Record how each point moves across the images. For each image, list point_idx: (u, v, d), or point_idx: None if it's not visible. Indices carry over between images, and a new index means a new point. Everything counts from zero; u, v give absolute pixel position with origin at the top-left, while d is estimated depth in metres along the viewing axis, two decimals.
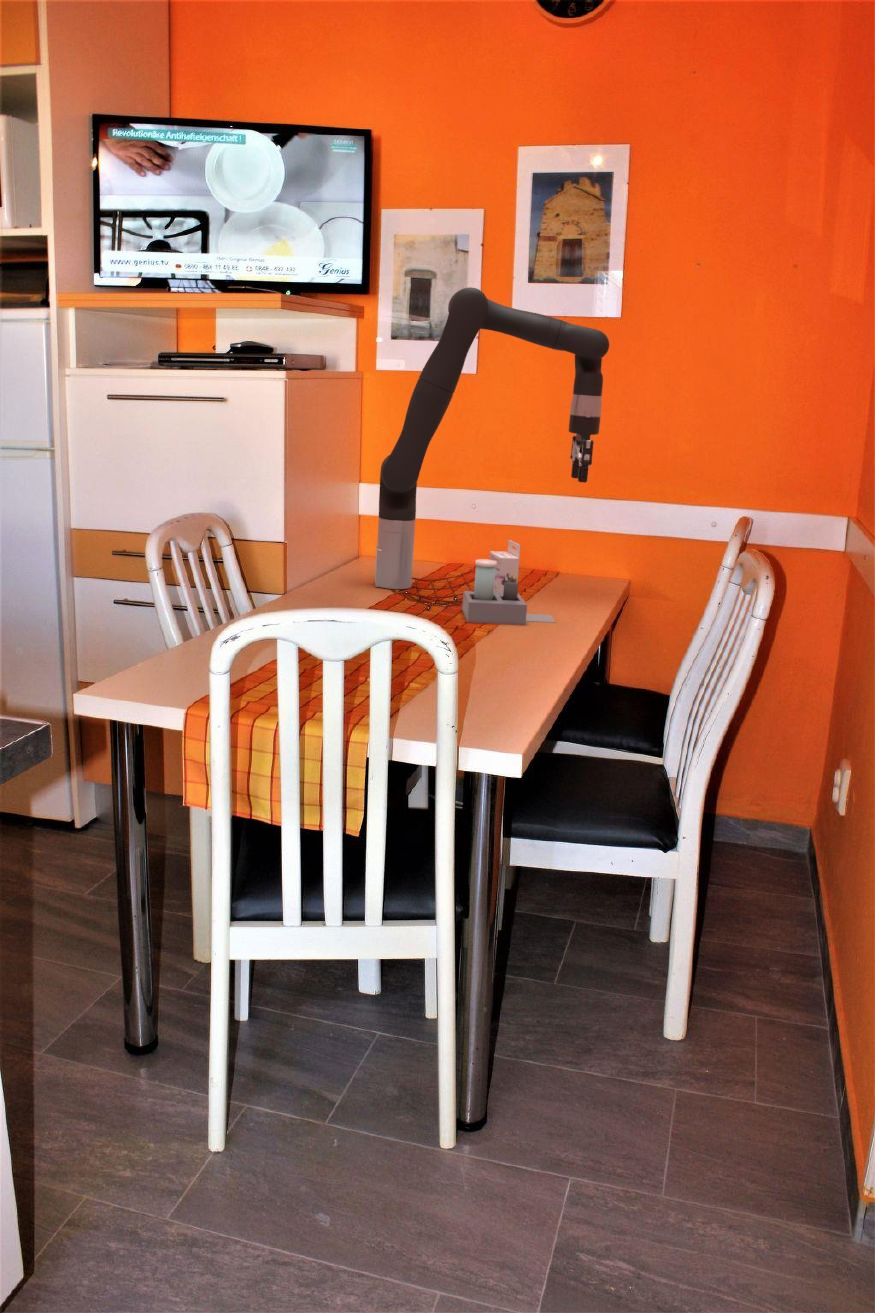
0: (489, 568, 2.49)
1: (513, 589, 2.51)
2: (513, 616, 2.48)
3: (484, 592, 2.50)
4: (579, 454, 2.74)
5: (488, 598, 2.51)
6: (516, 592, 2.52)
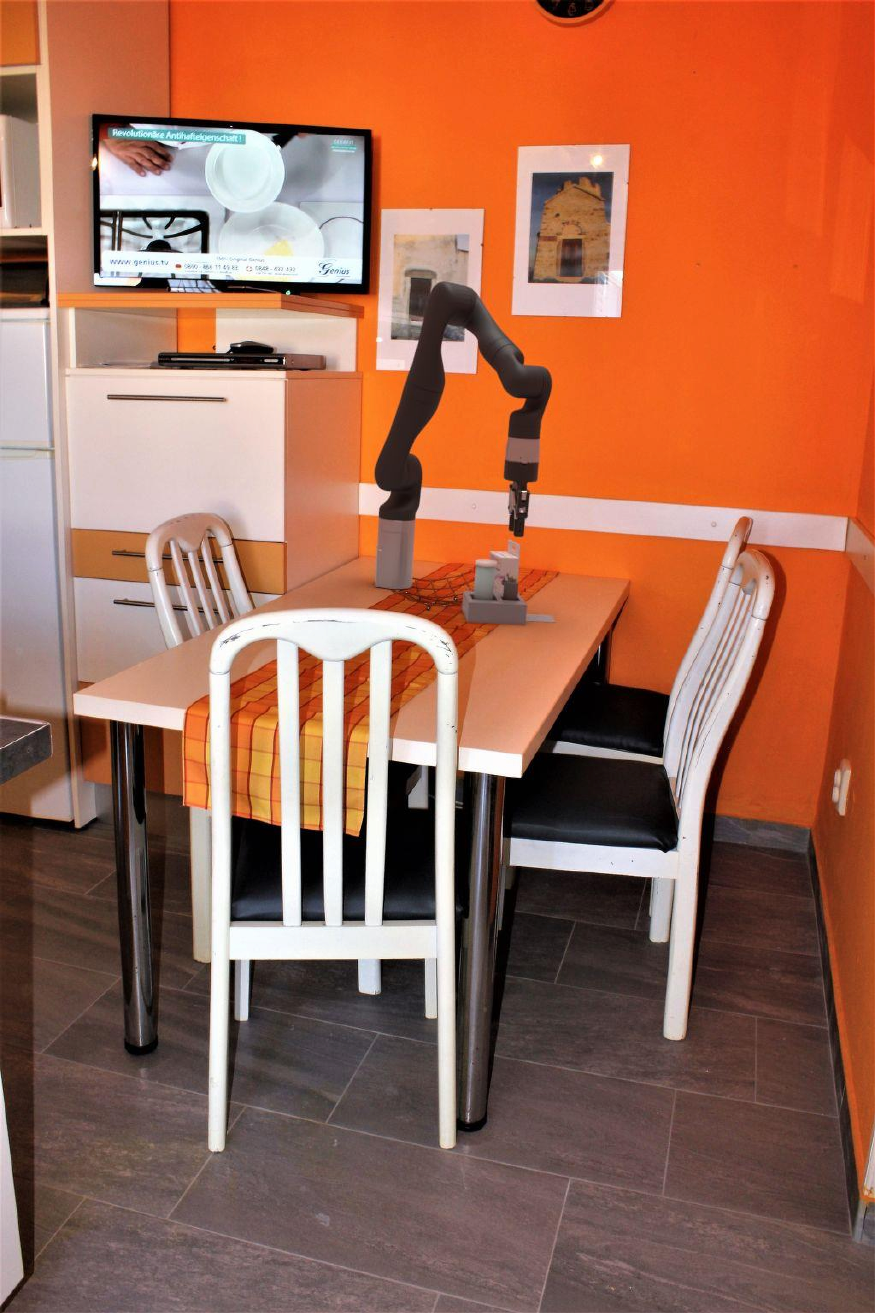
0: (489, 568, 2.49)
1: (513, 589, 2.51)
2: (513, 616, 2.48)
3: (484, 592, 2.50)
4: (514, 505, 2.44)
5: (488, 598, 2.51)
6: (516, 592, 2.52)
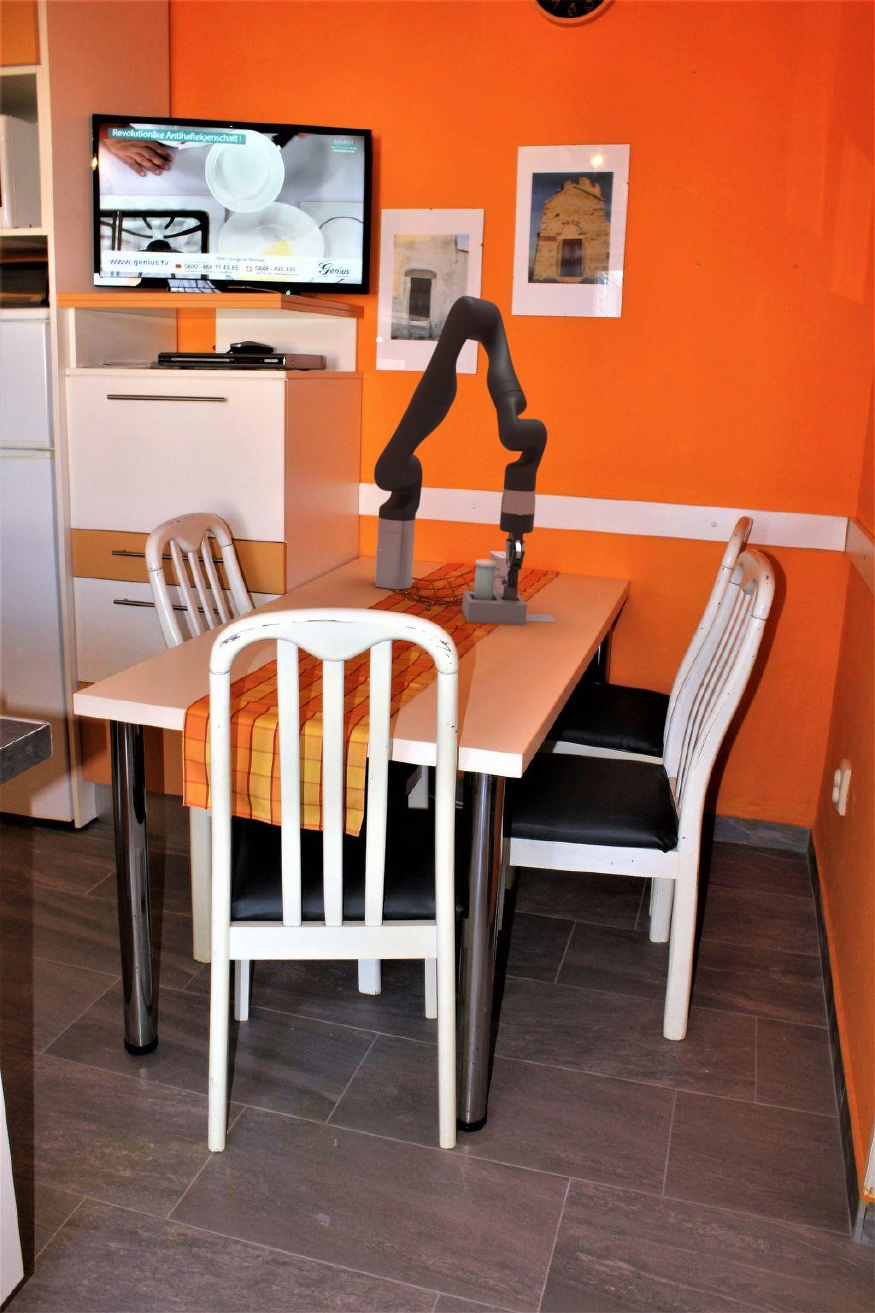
0: (489, 568, 2.49)
1: (513, 592, 2.51)
2: (513, 616, 2.48)
3: (484, 592, 2.50)
4: (509, 558, 2.49)
5: (488, 598, 2.51)
6: (516, 595, 2.52)
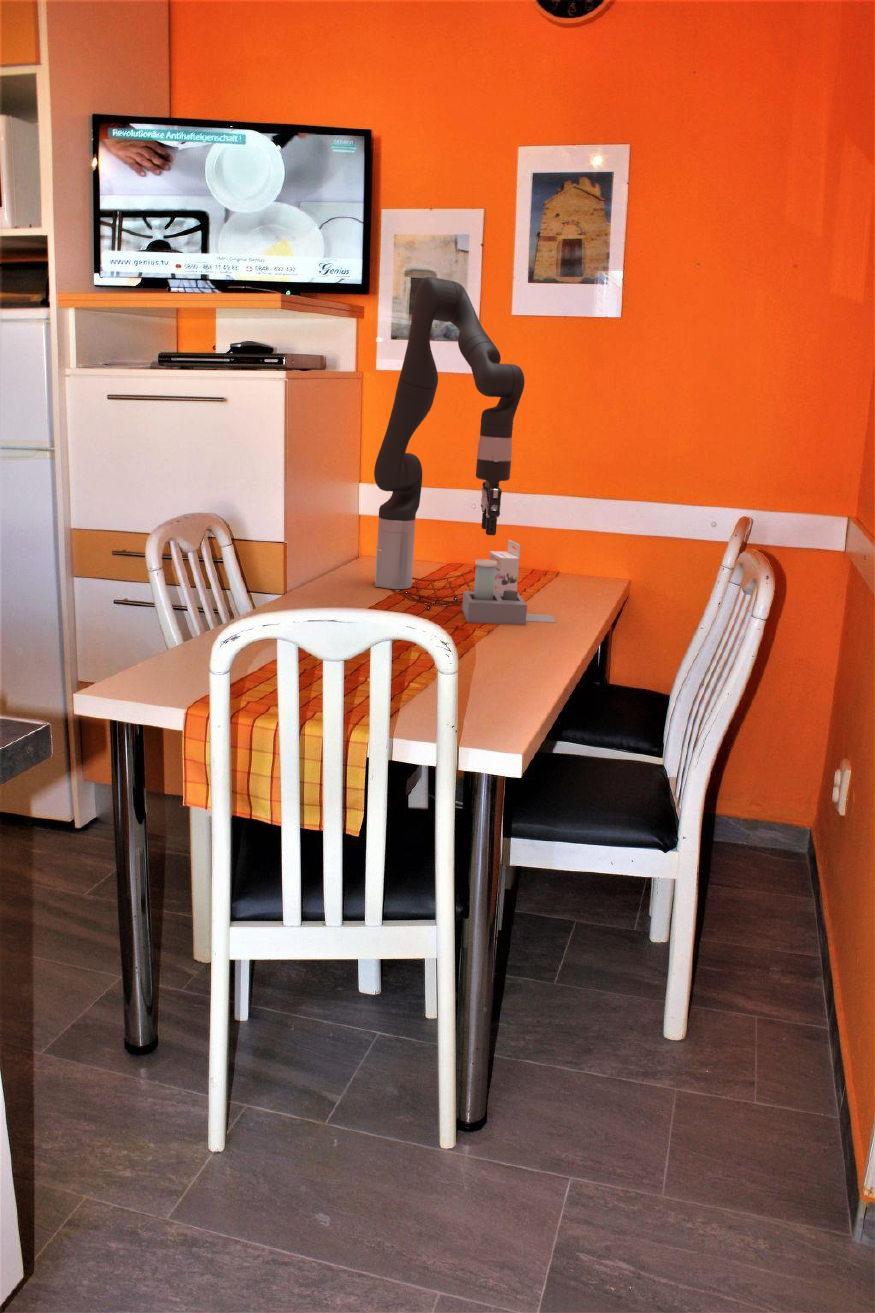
0: (489, 568, 2.49)
1: (512, 597, 2.52)
2: (513, 616, 2.48)
3: (484, 592, 2.50)
4: (486, 504, 2.43)
5: (488, 598, 2.51)
6: (515, 600, 2.52)
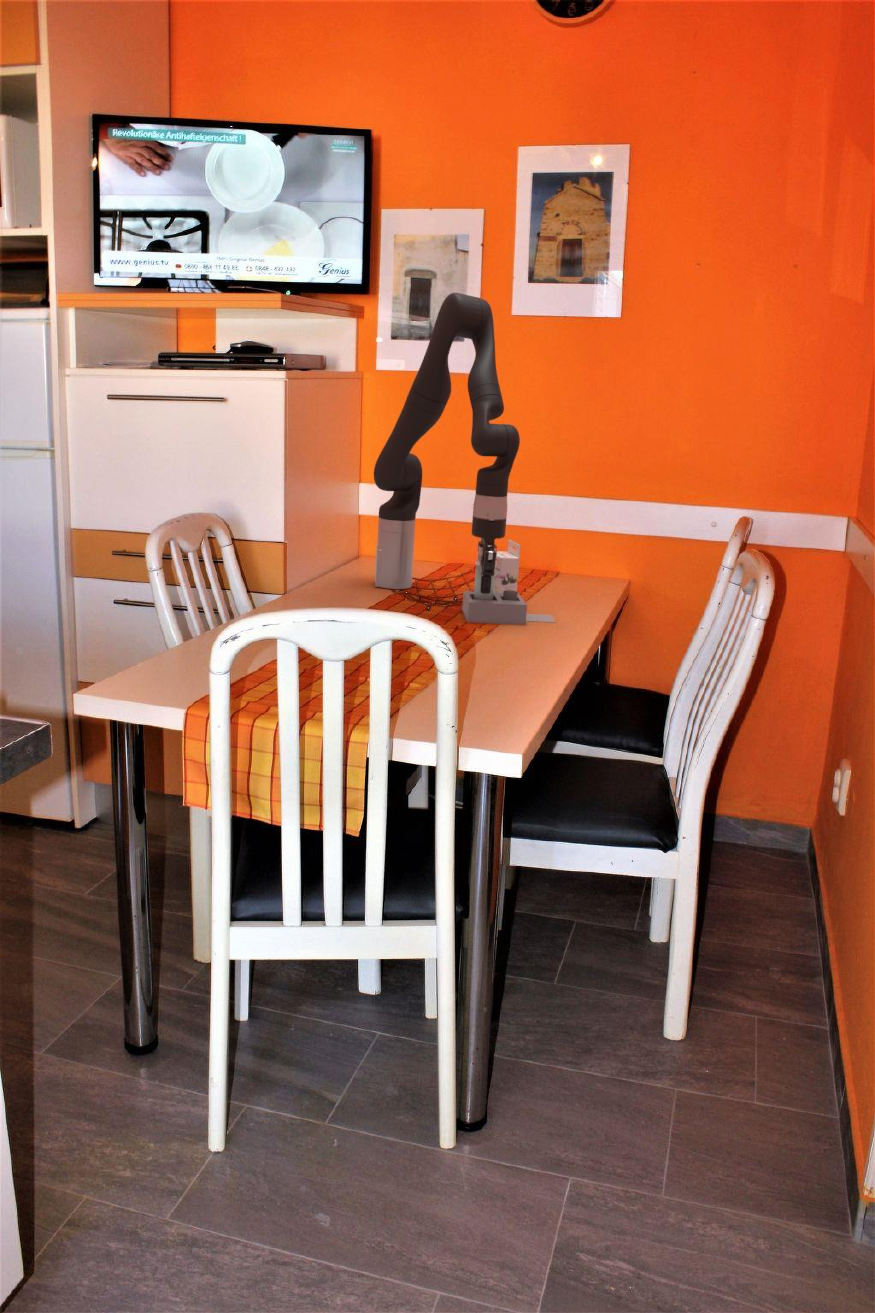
0: (489, 568, 2.49)
1: (512, 597, 2.52)
2: (513, 616, 2.48)
3: None
4: (482, 563, 2.48)
5: (488, 598, 2.51)
6: (515, 600, 2.52)
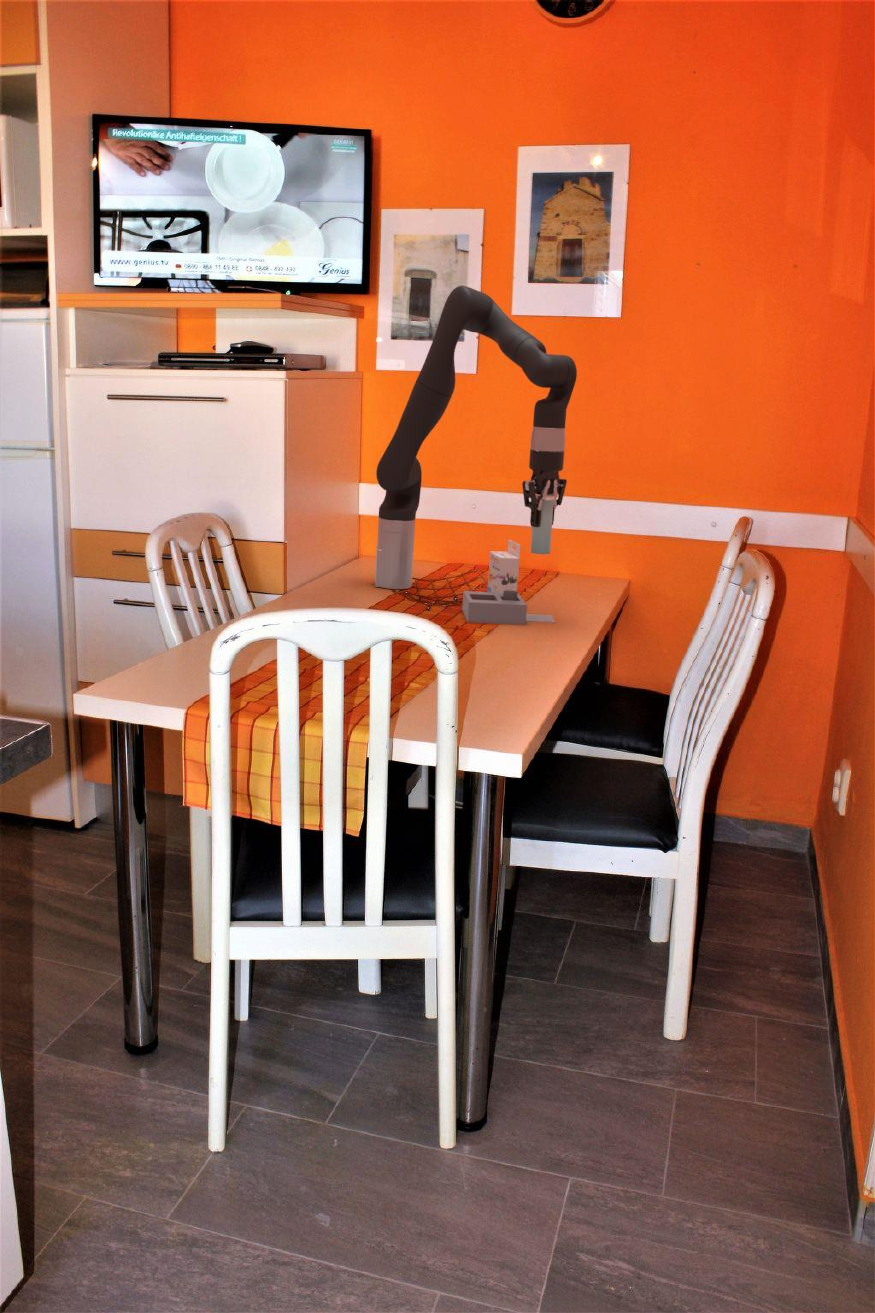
0: None
1: (512, 597, 2.52)
2: (513, 616, 2.48)
3: None
4: None
5: (539, 533, 2.48)
6: (515, 600, 2.52)
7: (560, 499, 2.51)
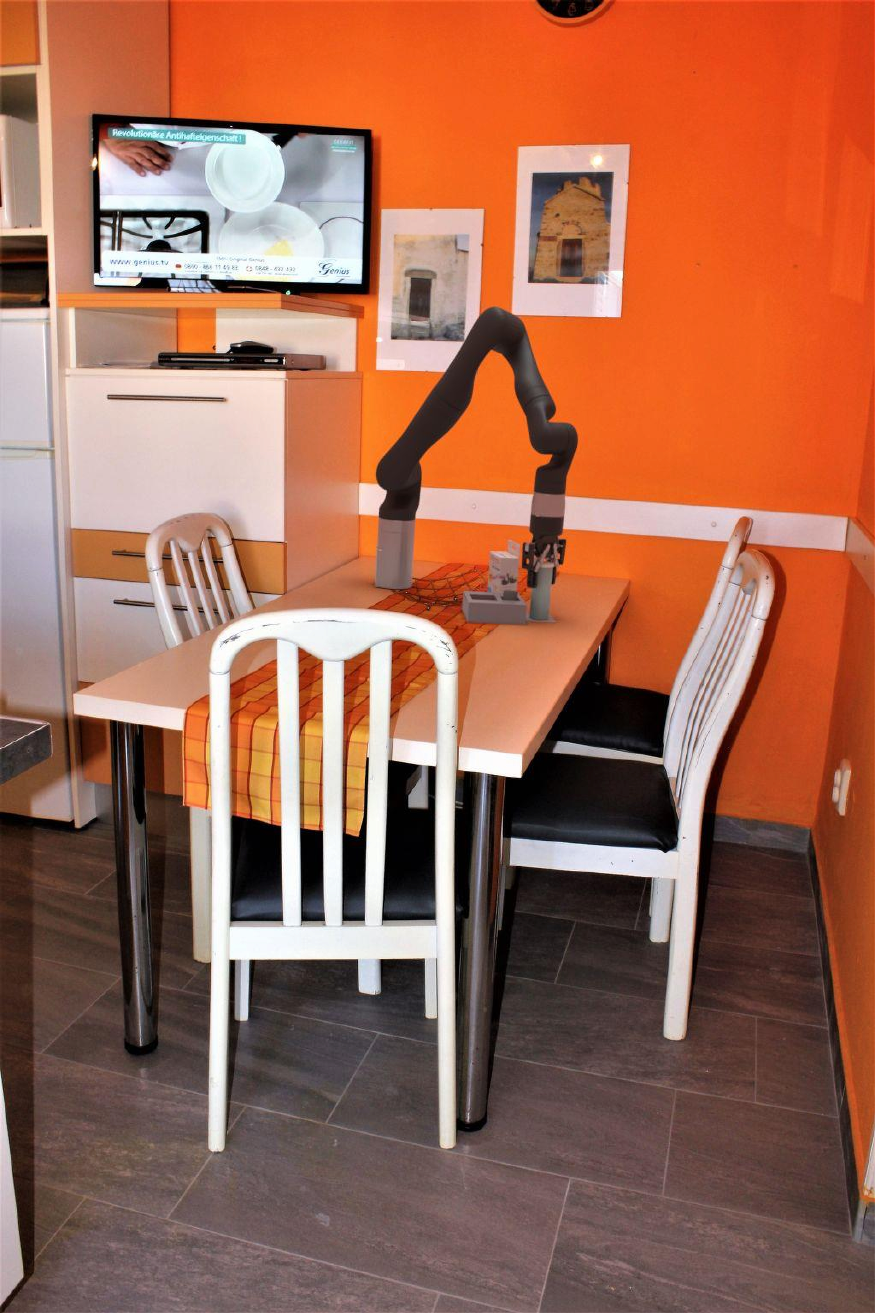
0: (540, 568, 2.51)
1: (512, 597, 2.52)
2: (513, 616, 2.48)
3: (535, 593, 2.53)
4: None
5: (538, 599, 2.53)
6: (515, 600, 2.52)
7: (562, 559, 2.56)
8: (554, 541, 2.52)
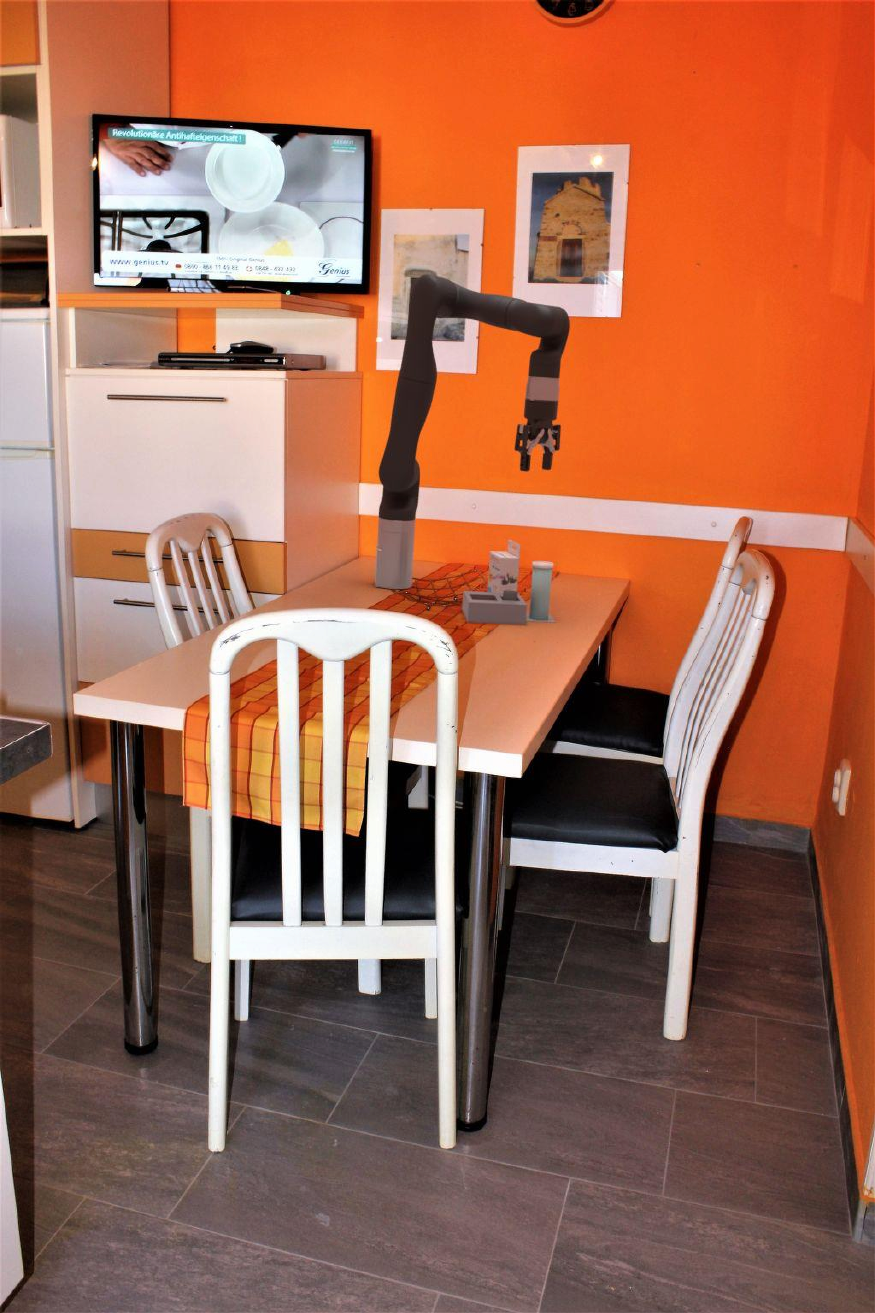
0: (539, 569, 2.51)
1: (512, 597, 2.52)
2: (513, 616, 2.48)
3: (535, 593, 2.53)
4: None
5: (538, 599, 2.53)
6: (515, 600, 2.52)
7: (557, 445, 2.58)
8: (548, 427, 2.54)
